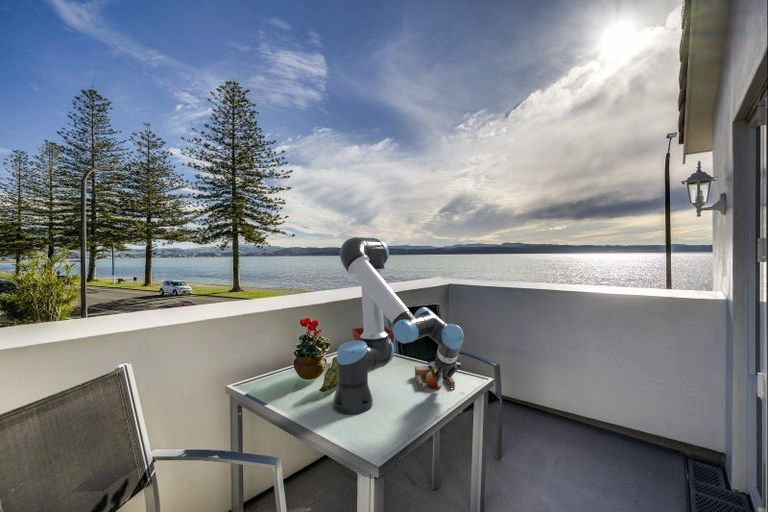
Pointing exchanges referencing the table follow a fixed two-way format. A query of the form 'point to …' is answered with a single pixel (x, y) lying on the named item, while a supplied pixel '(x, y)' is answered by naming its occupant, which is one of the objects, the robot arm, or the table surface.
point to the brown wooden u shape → (420, 382)
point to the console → (422, 371)
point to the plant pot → (358, 331)
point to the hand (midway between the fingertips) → (439, 382)
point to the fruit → (431, 380)
